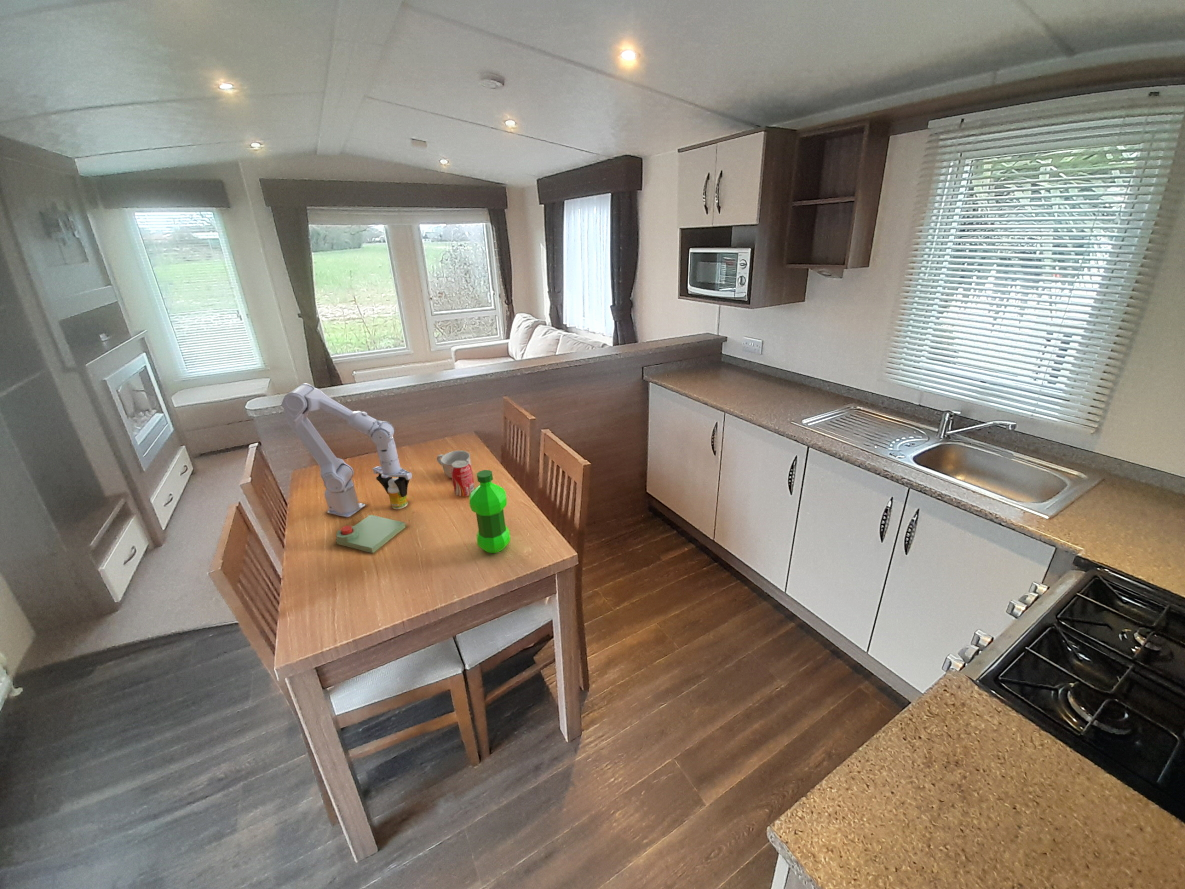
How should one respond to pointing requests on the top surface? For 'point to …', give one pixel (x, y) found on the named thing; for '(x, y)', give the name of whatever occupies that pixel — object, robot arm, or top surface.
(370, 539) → the scale
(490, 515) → the plastic bottle
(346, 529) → the button
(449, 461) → the teacup
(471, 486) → the soda can
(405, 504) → the supplement bottle
